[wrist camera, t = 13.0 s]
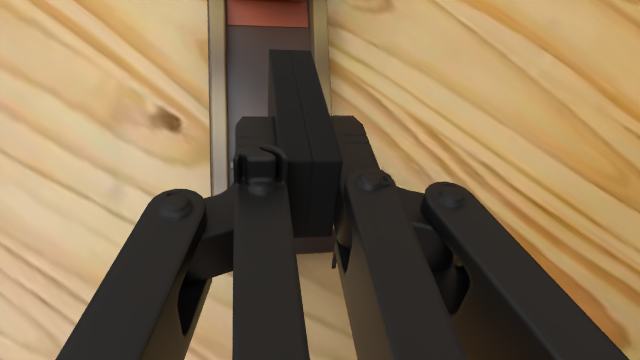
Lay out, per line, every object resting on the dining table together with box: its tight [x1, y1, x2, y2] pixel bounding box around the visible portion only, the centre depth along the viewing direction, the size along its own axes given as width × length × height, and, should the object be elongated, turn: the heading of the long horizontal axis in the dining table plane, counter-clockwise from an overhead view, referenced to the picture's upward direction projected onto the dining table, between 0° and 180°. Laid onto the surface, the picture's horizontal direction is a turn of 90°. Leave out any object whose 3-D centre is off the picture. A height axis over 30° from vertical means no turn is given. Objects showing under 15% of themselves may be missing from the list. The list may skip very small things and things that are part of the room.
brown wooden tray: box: [207, 0, 336, 254], centre depth 25 cm, size 21×7×4 cm, turn 2°
